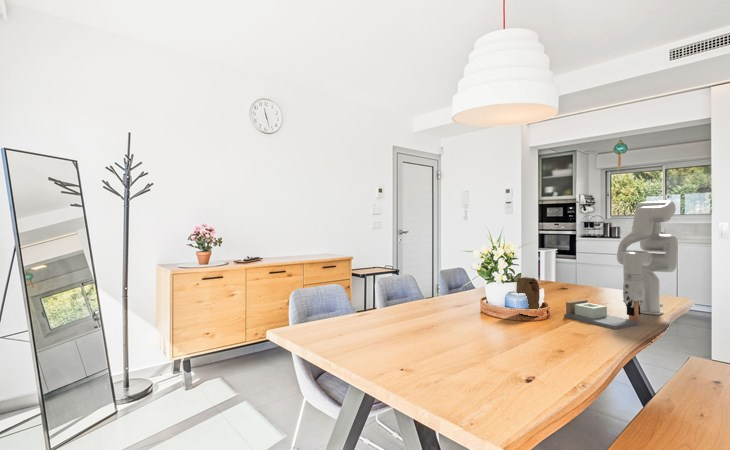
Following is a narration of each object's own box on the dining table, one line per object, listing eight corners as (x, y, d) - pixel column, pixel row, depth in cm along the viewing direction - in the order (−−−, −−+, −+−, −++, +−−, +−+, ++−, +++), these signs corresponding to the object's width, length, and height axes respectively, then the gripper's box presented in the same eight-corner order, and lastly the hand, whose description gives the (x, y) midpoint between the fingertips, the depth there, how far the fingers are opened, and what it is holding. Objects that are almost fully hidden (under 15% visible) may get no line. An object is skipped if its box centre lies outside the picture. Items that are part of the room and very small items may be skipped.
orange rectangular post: (631, 319, 187) (631, 299, 187) (640, 321, 184) (640, 300, 183) (626, 320, 185) (626, 300, 185) (635, 322, 182) (635, 301, 182)
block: (515, 314, 202) (514, 277, 202) (524, 312, 206) (523, 275, 206) (532, 318, 193) (532, 279, 193) (542, 316, 196) (541, 278, 196)
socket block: (587, 312, 197) (587, 302, 197) (606, 316, 188) (606, 306, 188) (574, 314, 193) (574, 304, 193) (593, 318, 184) (593, 308, 184)
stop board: (586, 313, 202) (585, 299, 202) (638, 324, 178) (638, 308, 178) (564, 316, 195) (564, 302, 195) (615, 329, 171) (615, 312, 171)
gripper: (630, 279, 178) (631, 318, 178) (651, 276, 184) (652, 314, 185) (614, 277, 184) (614, 315, 184) (635, 275, 191) (635, 311, 191)
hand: (633, 314), depth 184 cm, fingers closed on orange rectangular post, 4 cm apart
